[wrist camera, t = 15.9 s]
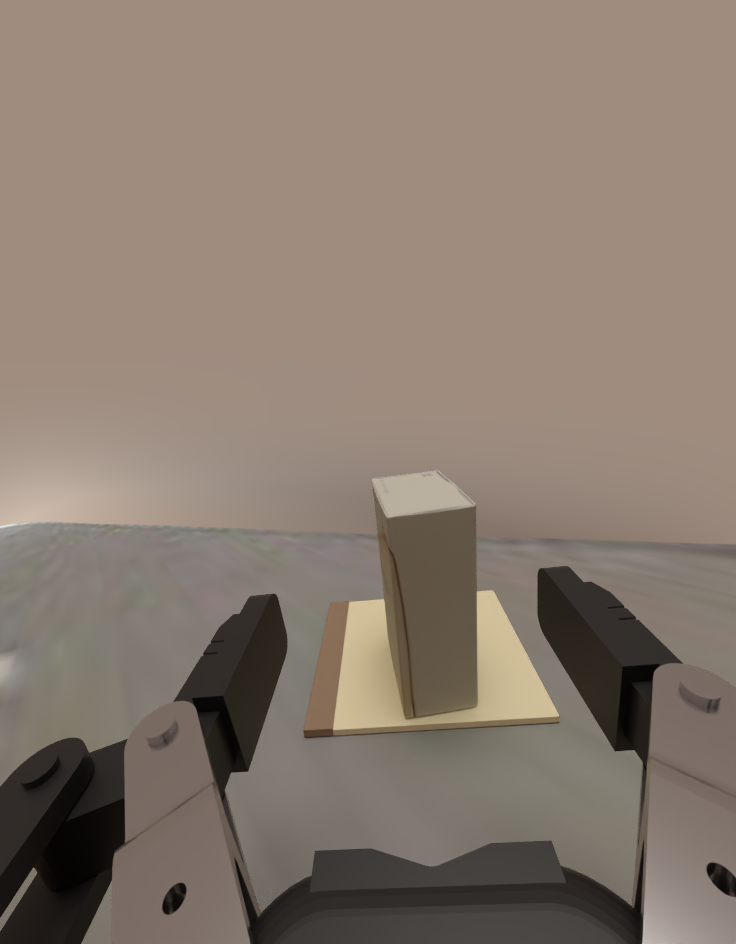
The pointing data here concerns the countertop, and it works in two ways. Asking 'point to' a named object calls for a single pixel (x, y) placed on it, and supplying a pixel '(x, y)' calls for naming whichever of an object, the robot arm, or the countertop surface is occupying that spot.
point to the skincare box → (429, 589)
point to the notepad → (375, 687)
